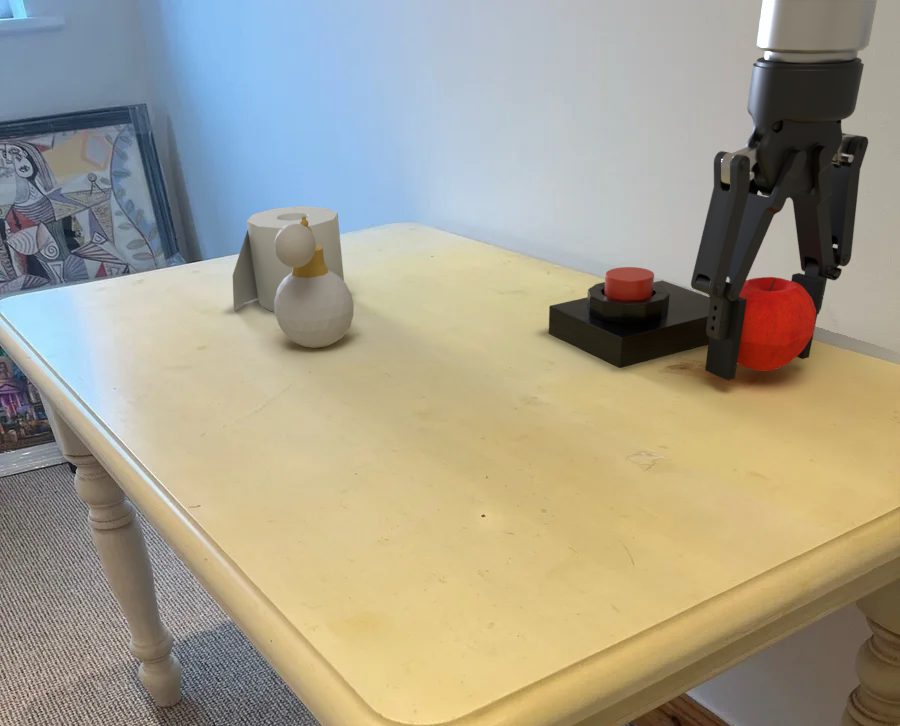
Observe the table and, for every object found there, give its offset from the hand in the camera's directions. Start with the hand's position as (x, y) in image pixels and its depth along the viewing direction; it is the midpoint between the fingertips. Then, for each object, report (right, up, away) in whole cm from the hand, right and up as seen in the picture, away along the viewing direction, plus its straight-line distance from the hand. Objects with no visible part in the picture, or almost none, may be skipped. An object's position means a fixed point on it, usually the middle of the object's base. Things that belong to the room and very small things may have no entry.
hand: (757, 363), depth 79 cm
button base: (-8, +5, +10) cm, 14 cm away
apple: (0, 0, 0) cm, 0 cm away
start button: (-10, +8, +7) cm, 15 cm away
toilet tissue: (-44, +12, +23) cm, 51 cm away
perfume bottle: (-39, +4, +11) cm, 40 cm away
